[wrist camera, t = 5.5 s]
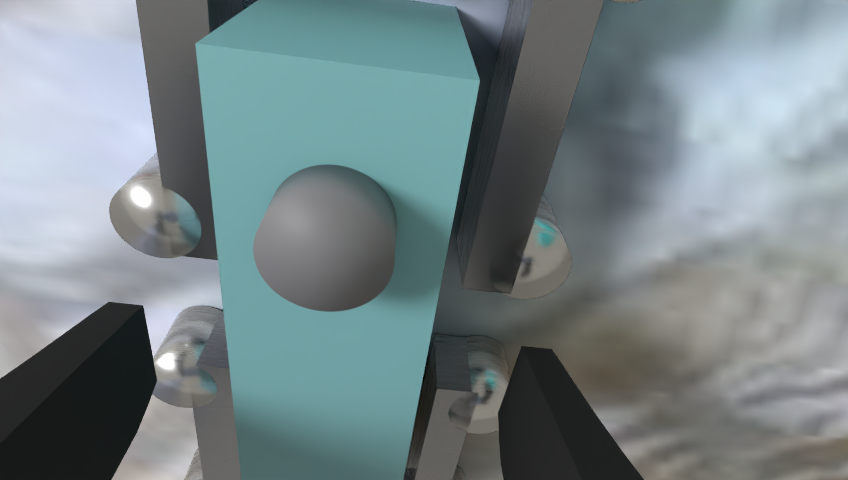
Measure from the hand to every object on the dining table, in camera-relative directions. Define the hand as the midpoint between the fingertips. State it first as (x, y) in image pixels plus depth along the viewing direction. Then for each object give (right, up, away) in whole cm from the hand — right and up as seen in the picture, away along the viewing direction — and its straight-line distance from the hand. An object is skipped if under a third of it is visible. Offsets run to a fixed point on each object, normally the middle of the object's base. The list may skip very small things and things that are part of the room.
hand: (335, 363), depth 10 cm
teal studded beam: (0, +2, +2) cm, 3 cm away
